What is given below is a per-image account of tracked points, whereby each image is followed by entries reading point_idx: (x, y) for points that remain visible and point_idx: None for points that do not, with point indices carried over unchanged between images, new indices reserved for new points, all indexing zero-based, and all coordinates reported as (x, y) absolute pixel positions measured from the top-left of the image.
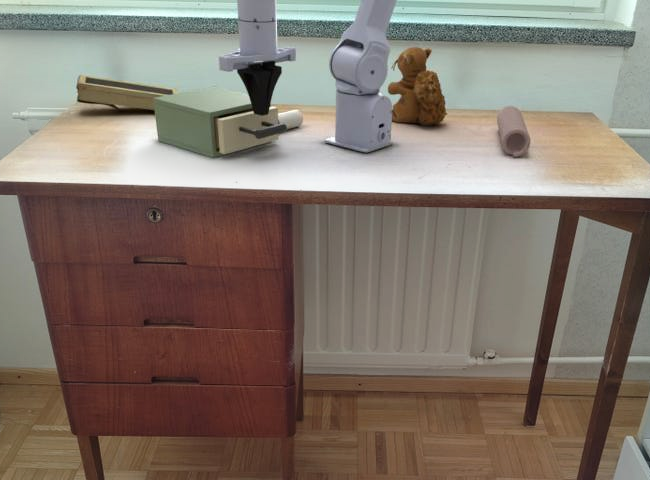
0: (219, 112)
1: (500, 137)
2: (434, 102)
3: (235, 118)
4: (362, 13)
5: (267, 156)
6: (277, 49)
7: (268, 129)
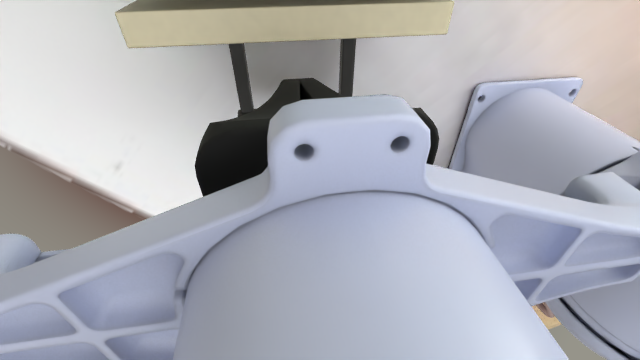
0: None
1: None
2: None
3: (205, 44)
4: None
5: (292, 70)
6: (522, 278)
7: None
